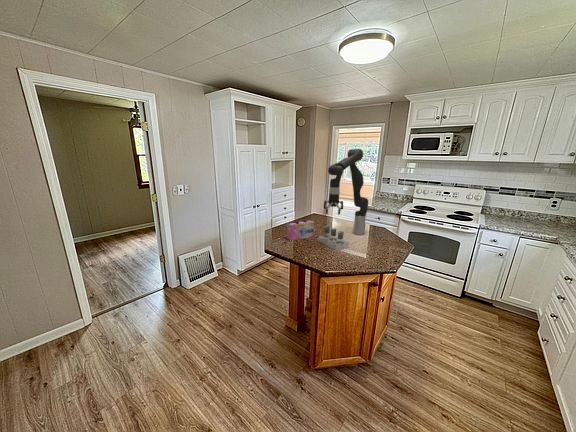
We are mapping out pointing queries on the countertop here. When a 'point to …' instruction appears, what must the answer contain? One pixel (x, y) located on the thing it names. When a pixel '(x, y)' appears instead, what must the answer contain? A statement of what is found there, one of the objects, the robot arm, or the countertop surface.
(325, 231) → the knob
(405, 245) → the countertop surface
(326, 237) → the mount plate
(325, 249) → the countertop surface
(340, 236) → the knob
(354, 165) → the robot arm
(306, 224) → the gum box
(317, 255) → the countertop surface
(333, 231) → the knob mid
